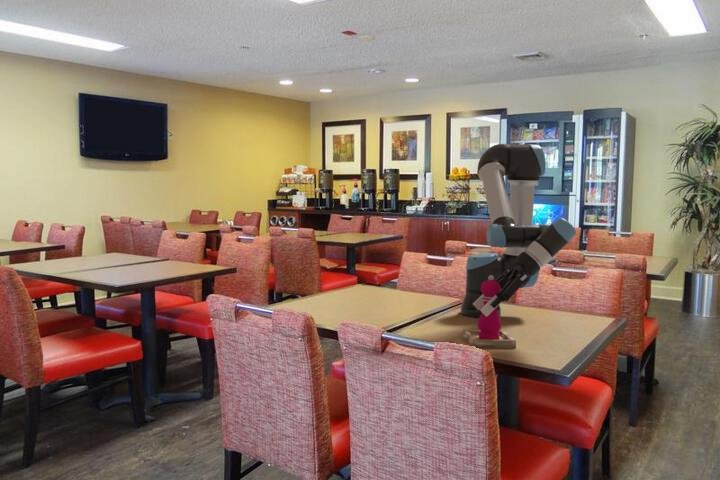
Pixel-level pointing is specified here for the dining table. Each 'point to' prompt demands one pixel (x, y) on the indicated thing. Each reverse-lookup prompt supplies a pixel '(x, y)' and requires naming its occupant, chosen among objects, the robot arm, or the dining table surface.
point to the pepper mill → (492, 321)
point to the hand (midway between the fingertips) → (479, 310)
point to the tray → (503, 341)
